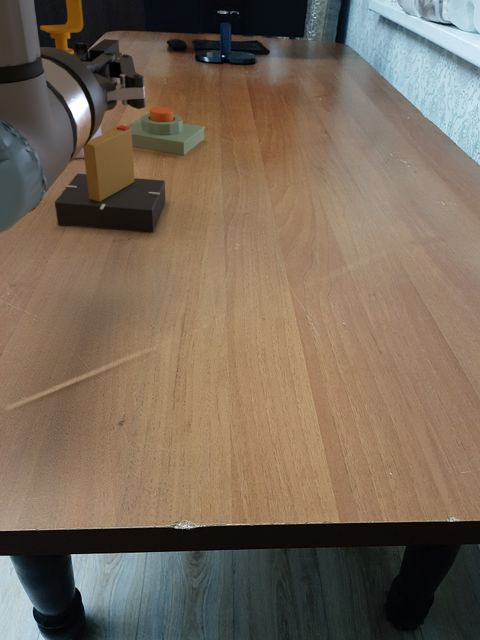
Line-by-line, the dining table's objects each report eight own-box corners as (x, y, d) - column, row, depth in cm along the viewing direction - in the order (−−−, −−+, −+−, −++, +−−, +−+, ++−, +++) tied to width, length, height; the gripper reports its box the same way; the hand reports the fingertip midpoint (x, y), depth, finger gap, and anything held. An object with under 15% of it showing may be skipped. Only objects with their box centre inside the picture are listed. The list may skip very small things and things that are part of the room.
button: (146, 121, 97) (145, 111, 96) (155, 116, 100) (155, 105, 99) (168, 125, 96) (167, 114, 95) (177, 119, 99) (176, 109, 98)
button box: (118, 144, 97) (116, 120, 95) (143, 129, 105) (142, 106, 103) (183, 155, 95) (183, 131, 93) (204, 139, 103) (204, 116, 101)
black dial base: (54, 228, 71) (50, 204, 69) (81, 191, 81) (78, 169, 79) (152, 236, 71) (151, 212, 69) (167, 198, 81) (166, 176, 79)
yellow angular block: (99, 202, 71) (93, 143, 66) (88, 199, 71) (82, 140, 67) (134, 181, 77) (131, 126, 72) (124, 179, 77) (120, 124, 73)
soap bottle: (35, 146, 93) (6, -33, 79) (86, 138, 99) (68, -32, 84) (60, 163, 88) (34, -25, 74) (113, 153, 94) (98, -24, 79)
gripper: (-33, 154, 45) (57, 86, 64) (133, 165, 45) (173, 94, 64) (-59, 48, 40) (46, 9, 59) (125, 61, 41) (171, 18, 60)
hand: (112, 53), depth 62 cm, fingers closed
